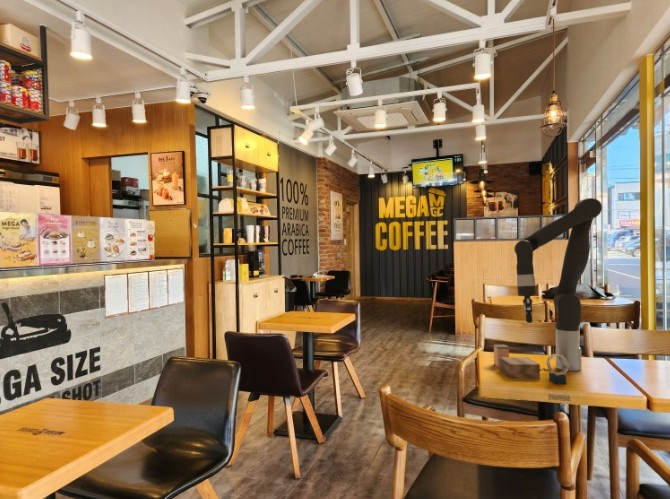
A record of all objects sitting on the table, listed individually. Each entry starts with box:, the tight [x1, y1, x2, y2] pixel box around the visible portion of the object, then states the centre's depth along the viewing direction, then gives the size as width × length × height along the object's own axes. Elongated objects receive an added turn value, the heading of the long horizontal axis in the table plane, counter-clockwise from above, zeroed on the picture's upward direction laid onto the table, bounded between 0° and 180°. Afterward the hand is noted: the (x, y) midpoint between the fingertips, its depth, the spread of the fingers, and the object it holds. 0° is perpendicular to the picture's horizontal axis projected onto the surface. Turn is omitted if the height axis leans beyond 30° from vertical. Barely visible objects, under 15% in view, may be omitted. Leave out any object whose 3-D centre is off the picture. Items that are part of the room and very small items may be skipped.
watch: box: [546, 353, 569, 385], centre depth 180 cm, size 6×8×11 cm
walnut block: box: [499, 356, 541, 379], centre depth 191 cm, size 12×12×6 cm
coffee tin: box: [493, 344, 510, 368], centre depth 205 cm, size 5×5×9 cm
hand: (529, 322), depth 200 cm, fingers open, 8 cm apart
